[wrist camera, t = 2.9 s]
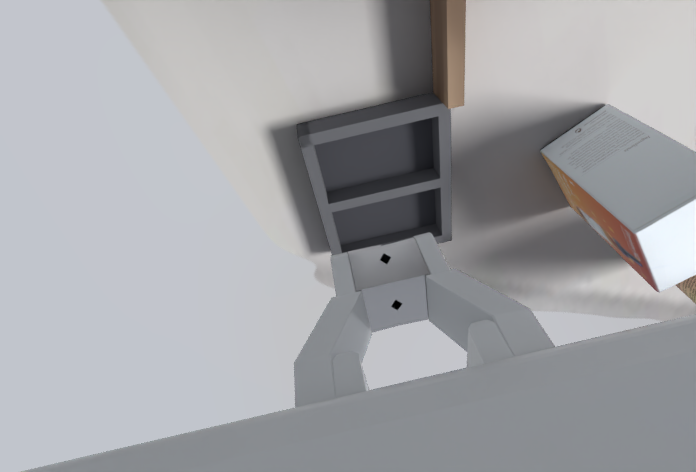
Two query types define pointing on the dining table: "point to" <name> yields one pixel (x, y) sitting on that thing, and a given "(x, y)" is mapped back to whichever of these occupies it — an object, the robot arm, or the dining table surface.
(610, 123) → the small box
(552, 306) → the dining table surface
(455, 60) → the lane walls
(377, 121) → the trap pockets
